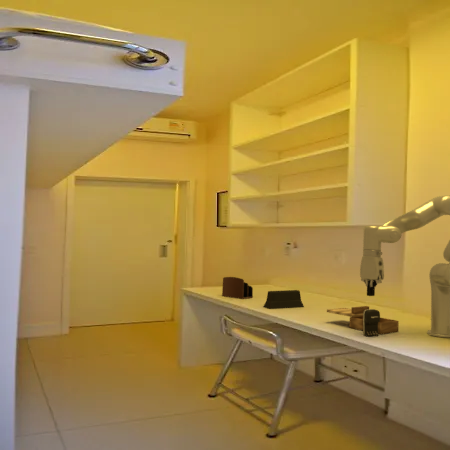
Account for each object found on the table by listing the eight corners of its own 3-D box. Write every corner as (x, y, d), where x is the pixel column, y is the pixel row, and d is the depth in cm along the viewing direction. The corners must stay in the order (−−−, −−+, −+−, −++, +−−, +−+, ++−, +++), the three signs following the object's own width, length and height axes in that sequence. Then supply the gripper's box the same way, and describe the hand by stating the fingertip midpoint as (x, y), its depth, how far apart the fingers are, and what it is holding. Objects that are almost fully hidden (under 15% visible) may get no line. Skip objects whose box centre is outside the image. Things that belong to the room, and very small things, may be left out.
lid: (370, 315, 236) (371, 306, 236) (352, 317, 229) (352, 308, 229) (344, 310, 250) (344, 301, 250) (326, 312, 243) (326, 303, 243)
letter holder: (242, 299, 325) (243, 278, 325) (221, 296, 339) (222, 276, 339) (252, 298, 332) (253, 277, 332) (232, 295, 346) (232, 275, 346)
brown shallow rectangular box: (398, 331, 222) (398, 320, 223) (380, 334, 216) (380, 323, 216) (367, 325, 237) (367, 315, 237) (349, 327, 230) (349, 317, 230)
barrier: (270, 309, 284) (270, 292, 284) (262, 307, 292) (263, 290, 292) (304, 307, 294) (304, 291, 294) (296, 305, 302) (296, 289, 302)
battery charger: (367, 337, 209) (367, 310, 209) (362, 335, 213) (362, 309, 213) (381, 336, 212) (381, 310, 212) (375, 334, 215) (375, 308, 215)
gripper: (391, 254, 211) (390, 297, 211) (364, 253, 224) (363, 293, 223) (379, 254, 207) (378, 298, 207) (353, 252, 220) (351, 293, 220)
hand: (370, 295), depth 215 cm, fingers closed
